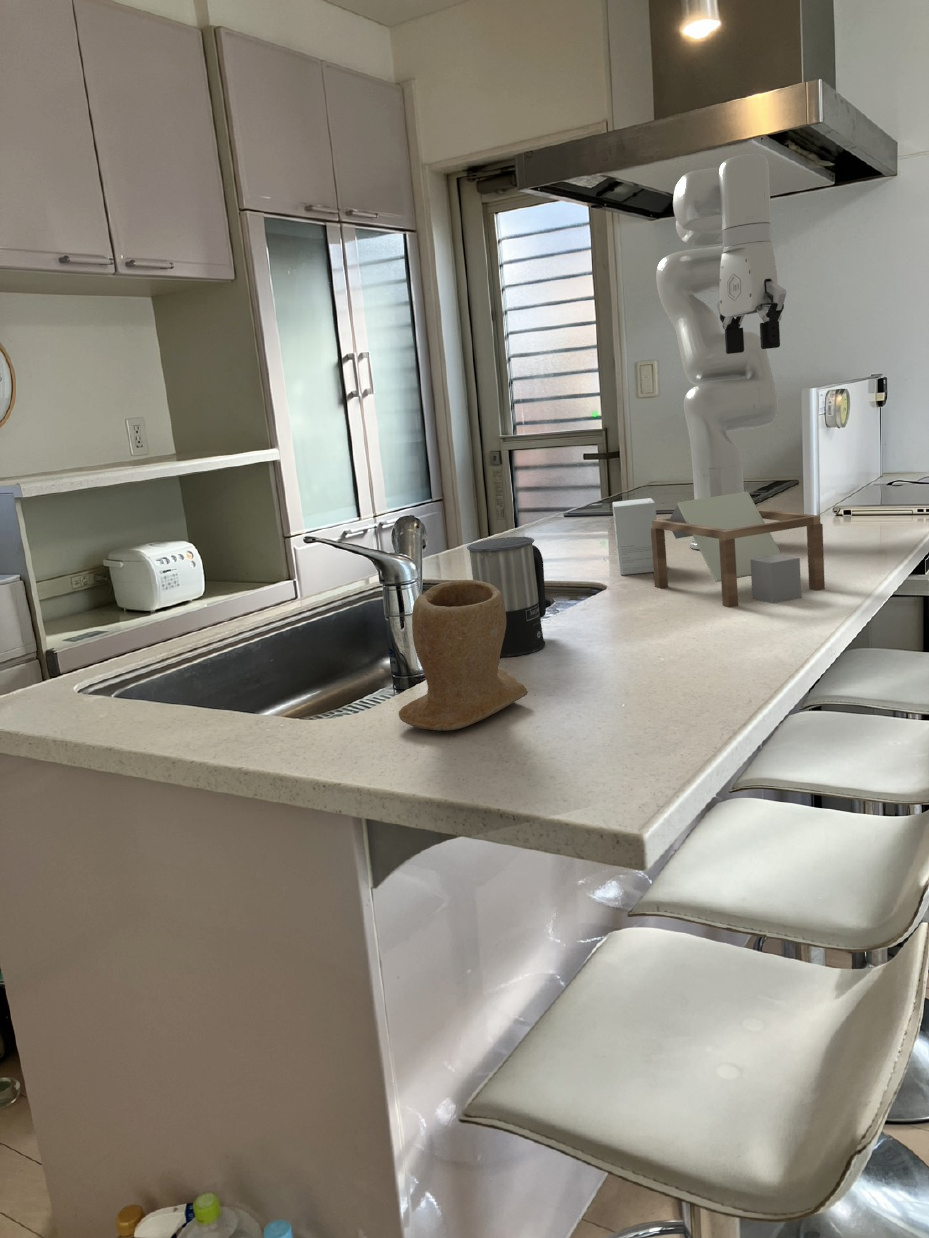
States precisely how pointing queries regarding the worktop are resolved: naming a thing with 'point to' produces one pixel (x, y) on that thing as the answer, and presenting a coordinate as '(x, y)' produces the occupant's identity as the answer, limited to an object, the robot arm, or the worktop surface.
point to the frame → (728, 547)
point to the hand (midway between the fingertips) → (752, 350)
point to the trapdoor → (726, 516)
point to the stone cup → (460, 656)
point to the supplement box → (634, 535)
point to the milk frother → (514, 588)
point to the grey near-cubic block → (776, 578)
